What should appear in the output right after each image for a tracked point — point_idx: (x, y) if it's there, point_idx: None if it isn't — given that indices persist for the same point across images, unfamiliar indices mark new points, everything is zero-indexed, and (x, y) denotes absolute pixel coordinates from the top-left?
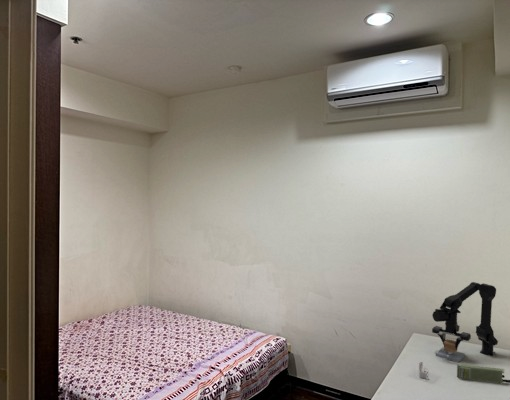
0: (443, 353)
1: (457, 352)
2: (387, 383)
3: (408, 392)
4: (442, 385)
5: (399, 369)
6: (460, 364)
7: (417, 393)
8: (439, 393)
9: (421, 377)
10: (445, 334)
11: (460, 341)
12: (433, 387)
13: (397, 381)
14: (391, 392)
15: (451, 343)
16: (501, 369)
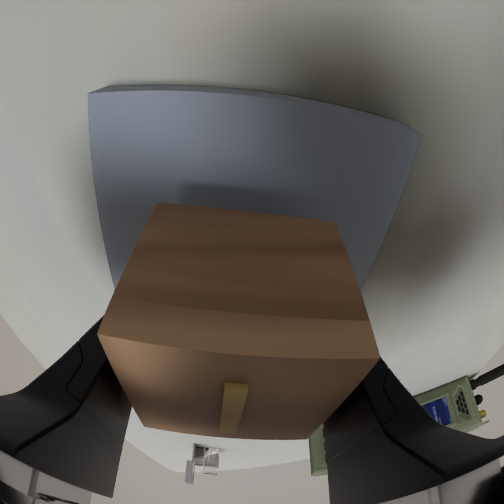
0: None
1: (324, 152)
2: (158, 461)
3: (208, 469)
4: (266, 454)
5: (127, 434)
6: (324, 474)
7: (224, 468)
8: (265, 464)
9: (201, 449)
10: (47, 449)
11: (417, 415)
12: (247, 459)
13: (167, 458)
14: (184, 469)
15: (258, 434)
16: (479, 426)
